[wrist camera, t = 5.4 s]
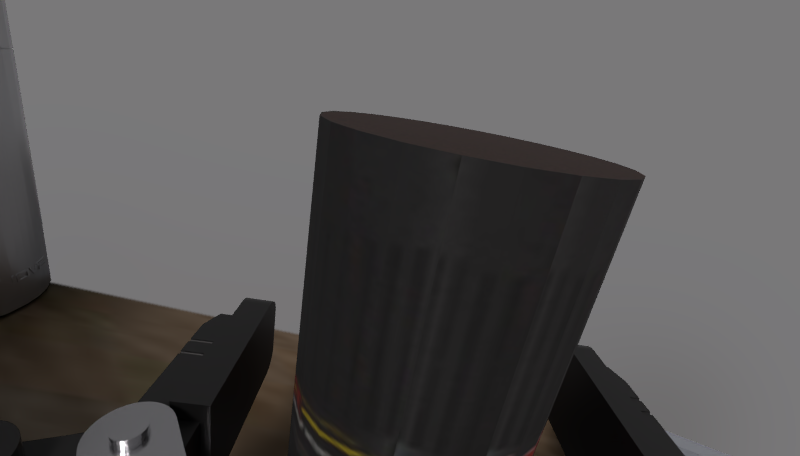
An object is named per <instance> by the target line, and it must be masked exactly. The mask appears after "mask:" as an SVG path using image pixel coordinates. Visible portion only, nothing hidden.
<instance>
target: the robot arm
mask: <svg viewBox="0 0 800 456" xmlns="http://www.w3.org/2000/svg"><path fill="white" fill-rule="evenodd" d="M11 48H13V47H12V41H11V35H10V29H9V23H8V17H7V11H6V5H5V0H0V316H2V315H5V314H8V313H10V312H12V311H14V310H16V309H18V308H20V307H22V306H24V305H26V304H28V303H29V302H31V301H32V300H34V299H35V298H37V297H38V296H40V295H41V294H42V293H43V292H44V291H45V290H46V289H47V287H48V285H49V283H50V281H51V278H50V271H49V265H48V259H47V253H46V246H45V240H44V233H43V228H42V219H41V214H40V207H39V201H38V195H37V189H36V183H35V177H34V171H33V165H32V159H31V153H30V147H29V141H28V135H27V129H26V123H25V117H24V111H23V105H22V99H21V93H20V87H19V81H18V75H17V69H16V63H15V57H14V51H13V49H11ZM275 308H276V307H275V302H273V301H266V300H258V299H251V298H245V299H244V300H243V302H242V303H241V304H240V306H239V307H238V308H237V310H236V311H235V312H234V314H233V315H225V314H220V315H218V316H216V317H215V318H213V319H211V320H209V321H208V322H206V323H204V324H203V325H202V326H201V327H200V328H199V330H198V331H197V332H196V333H195V334H194V336H193V337H192V338H191V341H189V342H188V343H187V344H186V345H185V346H184V348H183V349H182V350H181V353H180V354H178V355H177V356H176V357H175V358H174V360H173V361H172V362H171V363H170V364H169V366H168V367H167V368H166V369H165V370H164V372H163V373H162V374H161V375H160V376H159V378H158V379H157V380H156V381H155V382H154V383H153V385H152V386H151V387H150V388H149V389H148V391H147V392H146V393H145V394H144V395H143V397H142V398H141V399H140V400H139V401H138V403H133V404H129V405H126V406H123V407H120V408H118V409H115V410H113V411H111V412H109V413H108V414H106V415H104V416H103V417H101V418H100V419H98V420H97V421H96V422H95V423H93V424H92V425H91V426H90V427H89V428H88V429H87V431H86V432H83V433H78V434H73V435H66V436H60V437H53V438H46V439H40V440H33V441H26V442H22V440H21V436H20V432H19V429H18V428H17V427H16V426H15V425H14V424H12V423H10V422H7V421H2V420H0V456H229V454H230V452H231V450H232V448H233V445H234V443H235V441H236V439H237V437H238V435H239V432H240V430H241V428H242V426H243V424H244V422H245V419H246V417H247V415H248V413H249V411H250V409H251V406H252V404H253V402H254V400H255V398H256V396H257V393H258V391H259V389H260V387H261V385H262V382H263V380H264V378H265V376H266V374H267V371H268V369H269V365H270V362H271V358H272V352H273V341H274V325H275V310H276V309H275ZM548 419H549V421H550V423H551V425H552V428H553V430H554V432H555V434H556V436H557V438H558V440H559V442H560V445H561V447H562V449H563V451H564V453H565V455H566V456H685V455H684V454H683V453H682V451H681V450H680V449H679V448H678V446H677V445H676V444H675V443H674V441H673V440H672V439H671V438H670V436H669V435H668V434H667V433H666V431H665V430H664V429H663V428H662V426H661V425H660V424H659V423H658V421H657V420H656V419H655V418H654V416H653V415H650V411H649V410H648V409H647V408H646V406H645V405H644V404H643V403H642V402H641V401H639V398H638V396H637V395H636V394H635V393H634V392H633V390H632V389H631V388H630V386H629V385H628V384H627V383H626V382H625V381H624V380H623V379H622V378H620V377H619V376H618V375H617V374H616V373H614V372H613V371H612V370H611V369H609V368H608V367H606V366H605V365H604V363H603V362H602V361H601V359H600V358H599V357H598V355H597V354H596V353H595V351H594V350H593V349H592V348H590V347H588V346H582V345H577V348H576V350H575V352H574V355H573V357H572V360H571V362H570V365H569V367H568V370H567V372H566V375H565V377H564V380H563V382H562V385H561V387H560V390H559V392H558V395H557V397H556V400H555V402H554V405H553V407H552V410H551V412H550V415H549V417H548Z"/></svg>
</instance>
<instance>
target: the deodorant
mask: <svg viewBox="0 0 800 456" xmlns="http://www.w3.org/2000/svg"><path fill="white" fill-rule="evenodd" d="M644 179H645V176H644V175H642V174H641V173H639V172H637V171H635V170H633V169H630V168H627V167H624V166H621V165H618V164H616V163H612V162H608V161H605V160H602V159H598V158H595V157H591V156H587V155H583V154H579V153H576V152H571V151H568V150H563V149H559V148H555V147H550V146H546V145H542V144H538V143H533V142H529V141H524V140H519V139H514V138H510V137H505V136H500V135H495V134H490V133H485V132H480V131H475V130H469V129H464V128H459V127H453V126H448V125H441V124H436V123H430V122H424V121H417V120H411V119H404V118H397V117H390V116H383V115H375V114H366V113H356V112H339V111H329V112H322V113H321V114H320V118H319V128H318V139H317V150H316V162H315V171H314V182H313V193H312V204H311V214H310V225H309V236H308V246H307V257H306V268H305V279H304V289H303V300H302V312H301V322H300V332H299V343H298V353H297V364H296V375H295V386H294V396H293V407H292V418H291V428H290V439H289V450H288V456H533V454H534V452H535V449H536V447H537V444H538V442H539V439H540V437H541V434H542V432H543V430H544V427H545V425H546V422H547V420H548V417H549V415H550V412H551V410H552V407H553V405H554V402H555V400H556V397H557V395H558V392H559V390H560V387H561V385H562V382H563V380H564V377H565V375H566V372H567V370H568V367H569V365H570V362H571V360H572V357H573V355H574V352H575V350H576V348H577V345H578V343H579V340H580V338H581V335H582V332H583V330H584V328H585V325H586V323H587V320H588V318H589V315H590V313H591V310H592V308H593V305H594V303H595V300H596V298H597V295H598V293H599V290H600V288H601V285H602V283H603V280H604V278H605V275H606V273H607V270H608V268H609V265H610V263H611V261H612V258H613V256H614V253H615V251H616V248H617V245H618V243H619V241H620V238H621V236H622V233H623V231H624V228H625V226H626V223H627V221H628V218H629V216H630V213H631V211H632V208H633V206H634V203H635V201H636V198H637V196H638V193H639V191H640V188H641V186H642V184H643V181H644Z"/></svg>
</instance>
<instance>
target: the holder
mask: <svg viewBox="0 0 800 456" xmlns="http://www.w3.org/2000/svg"><path fill="white" fill-rule="evenodd" d="M666 433H667V434H668V435H669V436H670V438H671V439H672V440H673V441H674V443H675V444H676V445H677V446H678V448H679V449H680V450H681V451H682V453H683V454H684V455H685V456H731V455H728V454H725V453H723V452H720V451H718V450H715V449H712V448H710V447H707V446H704V445H702V444H699V443H697V442H694V441H691V440H689V439H686V438H684V437H681V436H678V435H676V434H673V433H670V432H668V431H666Z"/></svg>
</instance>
